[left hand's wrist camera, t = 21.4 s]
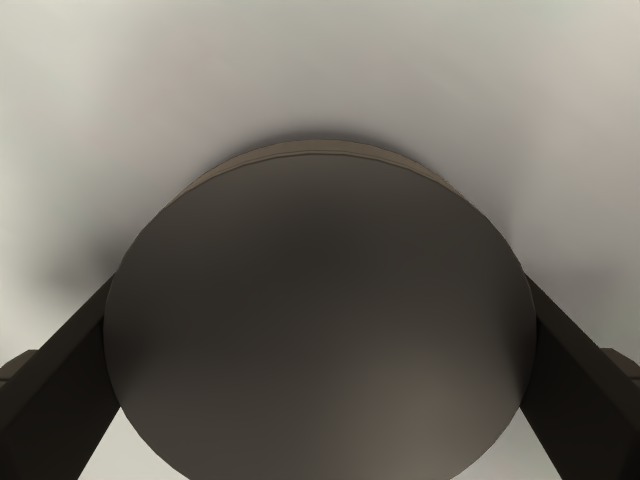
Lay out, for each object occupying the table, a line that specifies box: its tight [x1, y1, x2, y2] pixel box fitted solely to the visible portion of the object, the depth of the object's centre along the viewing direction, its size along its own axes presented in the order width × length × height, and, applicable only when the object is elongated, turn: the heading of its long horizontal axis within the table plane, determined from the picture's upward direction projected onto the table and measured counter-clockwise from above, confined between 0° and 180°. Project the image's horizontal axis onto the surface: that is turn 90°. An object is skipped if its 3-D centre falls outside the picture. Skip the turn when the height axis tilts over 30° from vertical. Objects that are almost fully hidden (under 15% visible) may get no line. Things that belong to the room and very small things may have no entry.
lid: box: [103, 139, 537, 480], centre depth 12 cm, size 11×11×2 cm
